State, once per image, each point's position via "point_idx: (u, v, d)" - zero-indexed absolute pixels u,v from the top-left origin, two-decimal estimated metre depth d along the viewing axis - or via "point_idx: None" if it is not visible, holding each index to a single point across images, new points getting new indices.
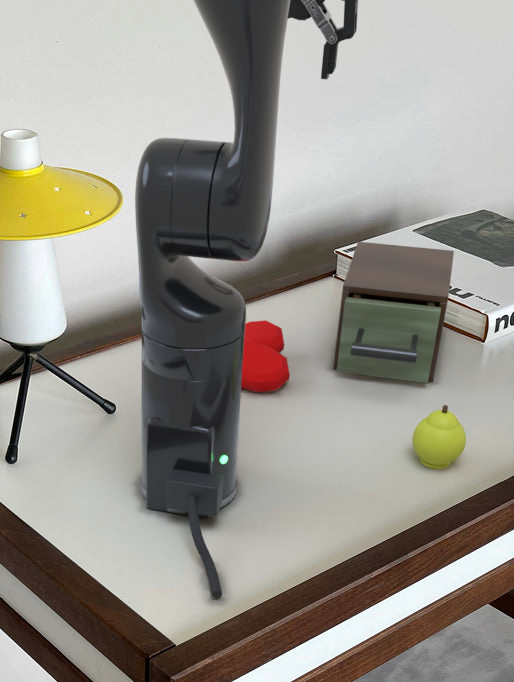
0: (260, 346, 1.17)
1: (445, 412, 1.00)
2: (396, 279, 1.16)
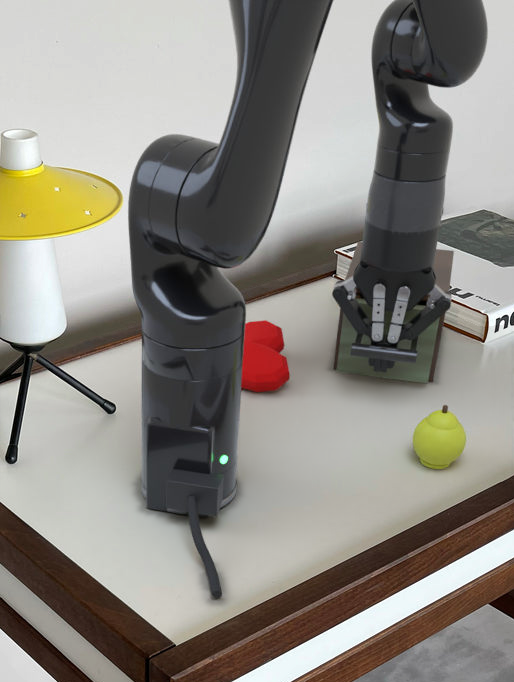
0: (260, 346, 1.17)
1: (445, 412, 1.00)
2: None
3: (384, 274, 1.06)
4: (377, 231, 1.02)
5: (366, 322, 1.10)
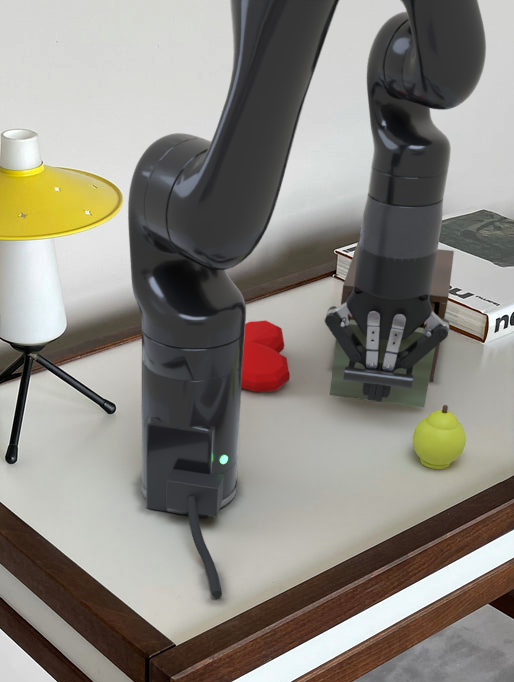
0: (260, 346, 1.17)
1: (445, 412, 1.00)
2: None
3: (378, 301, 1.01)
4: (371, 257, 0.97)
5: (360, 350, 1.06)
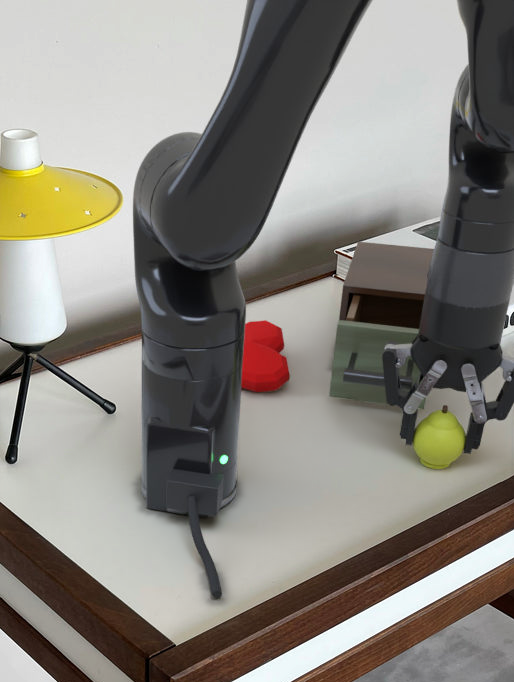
0: (260, 346, 1.17)
1: (445, 412, 1.00)
2: (396, 279, 1.16)
3: (445, 350, 0.96)
4: (441, 305, 0.92)
5: None
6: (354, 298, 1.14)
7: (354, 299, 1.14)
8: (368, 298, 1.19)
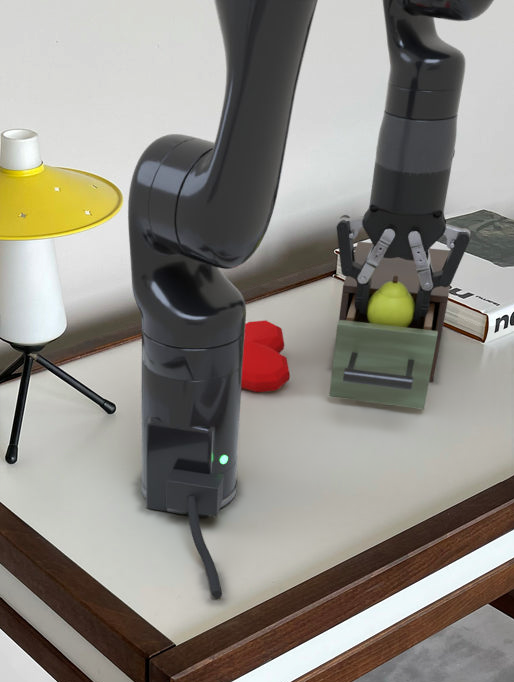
0: (260, 346, 1.17)
1: (395, 282, 1.09)
2: None
3: (393, 219, 1.04)
4: (387, 173, 1.00)
5: None
6: (354, 298, 1.14)
7: (354, 299, 1.14)
8: None
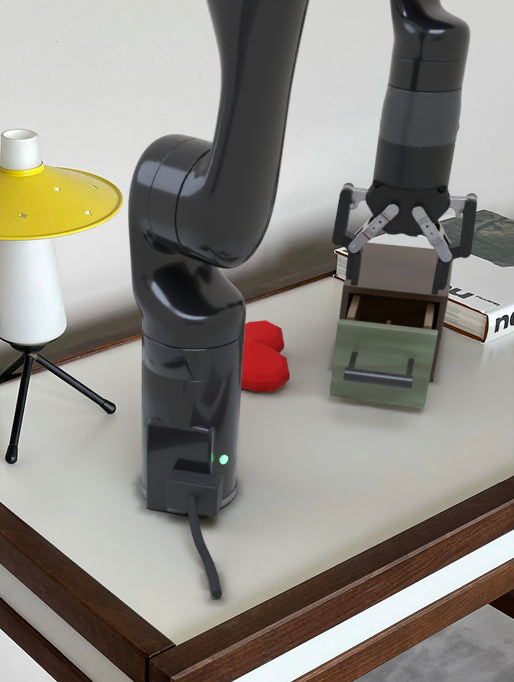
0: (260, 346, 1.17)
1: None
2: (396, 279, 1.16)
3: (397, 194, 1.03)
4: (391, 146, 0.99)
5: None
6: (354, 297, 1.15)
7: (354, 298, 1.14)
8: (368, 297, 1.19)
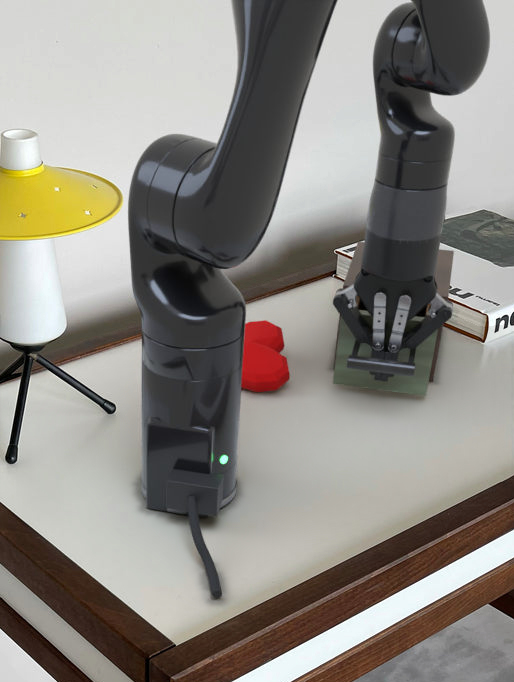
0: (260, 346, 1.17)
1: None
2: None
3: (385, 283, 1.05)
4: (378, 239, 1.01)
5: (367, 331, 1.09)
6: None
7: None
8: None
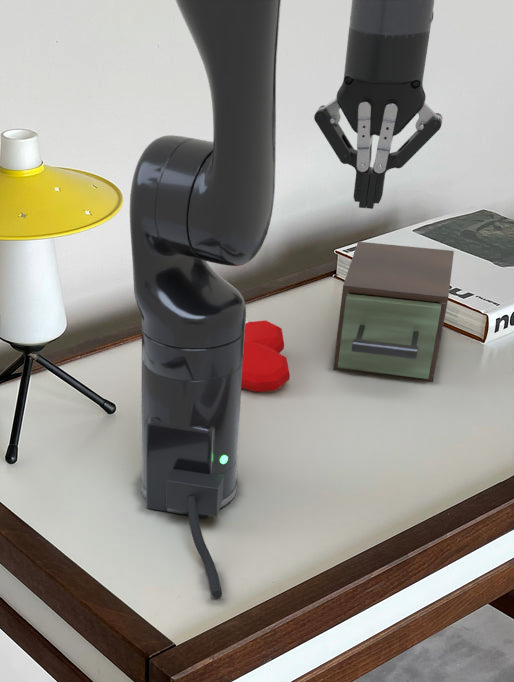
0: (260, 346, 1.17)
1: None
2: (396, 279, 1.16)
3: (369, 92, 0.98)
4: (361, 37, 0.94)
5: (351, 151, 1.02)
6: None
7: None
8: None
